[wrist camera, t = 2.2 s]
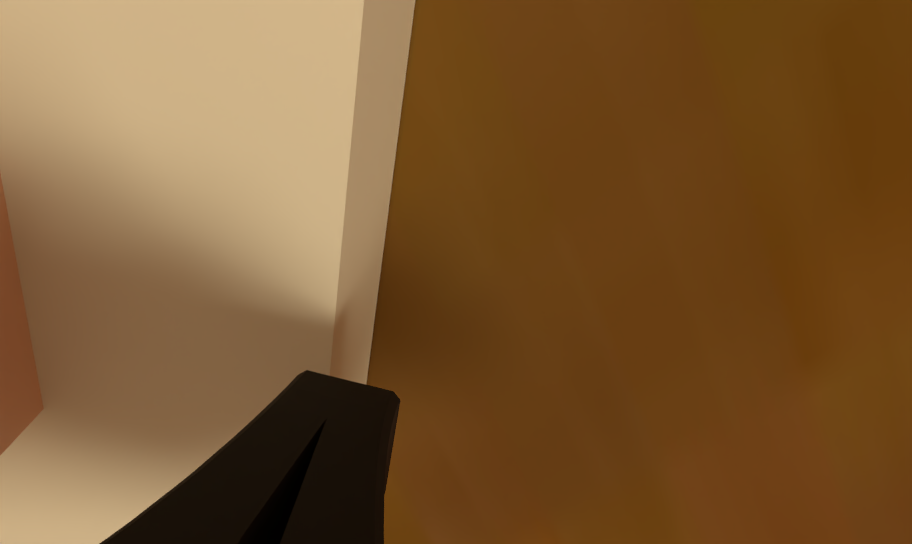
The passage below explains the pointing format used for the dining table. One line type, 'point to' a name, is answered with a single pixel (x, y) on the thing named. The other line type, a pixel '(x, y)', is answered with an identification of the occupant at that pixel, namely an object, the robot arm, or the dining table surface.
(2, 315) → the tile
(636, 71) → the dining table surface
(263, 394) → the board
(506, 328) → the dining table surface
